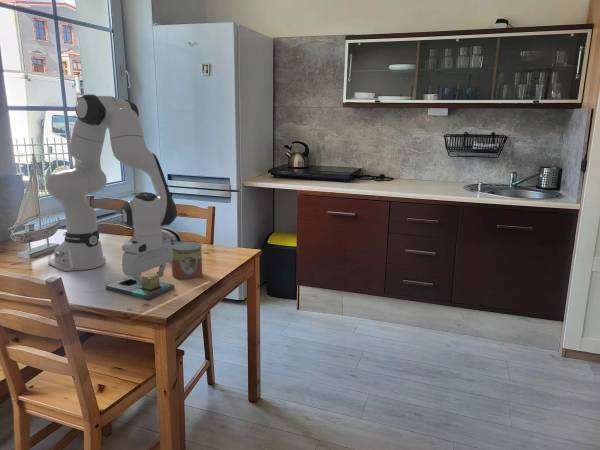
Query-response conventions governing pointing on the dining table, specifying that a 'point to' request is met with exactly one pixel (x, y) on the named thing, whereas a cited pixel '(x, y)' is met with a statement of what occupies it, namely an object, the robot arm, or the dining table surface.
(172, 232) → the grey curved piece
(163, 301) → the dining table surface
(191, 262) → the canned food
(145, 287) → the brass peg
